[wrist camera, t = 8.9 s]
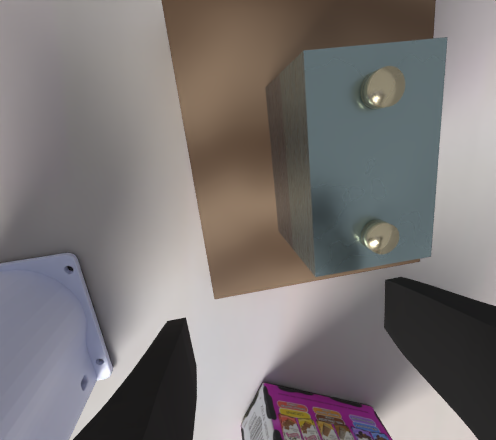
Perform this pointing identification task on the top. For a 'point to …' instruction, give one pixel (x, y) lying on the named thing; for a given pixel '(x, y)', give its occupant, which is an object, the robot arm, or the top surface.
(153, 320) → the top surface
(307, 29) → the stand
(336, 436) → the candy bar box
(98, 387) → the top surface
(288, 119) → the housing
